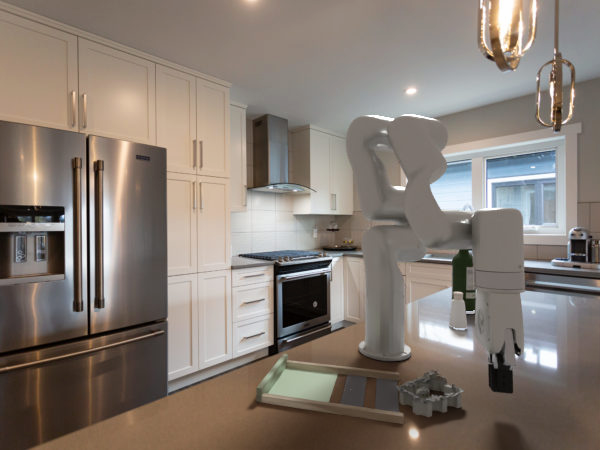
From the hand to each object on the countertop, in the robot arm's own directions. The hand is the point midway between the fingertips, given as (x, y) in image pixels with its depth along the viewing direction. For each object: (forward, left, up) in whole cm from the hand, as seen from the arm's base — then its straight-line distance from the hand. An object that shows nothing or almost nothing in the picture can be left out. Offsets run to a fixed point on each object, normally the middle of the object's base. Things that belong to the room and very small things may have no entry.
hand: (500, 390), depth 55 cm
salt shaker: (-49, +3, -4) cm, 49 cm away
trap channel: (-1, -28, -4) cm, 29 cm away
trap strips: (-1, -21, -4) cm, 22 cm away
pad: (-1, -34, -4) cm, 35 cm away
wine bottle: (-70, +9, -4) cm, 70 cm away
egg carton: (-1, -11, -4) cm, 12 cm away
